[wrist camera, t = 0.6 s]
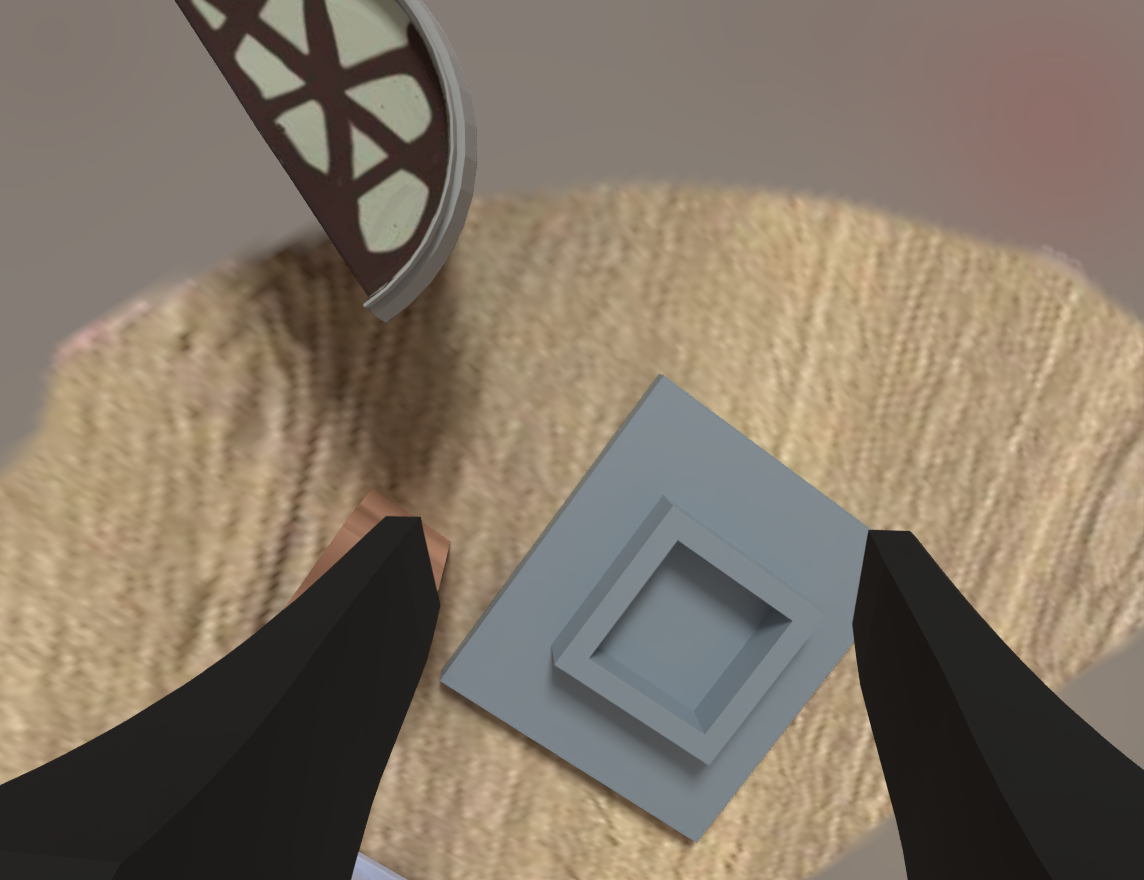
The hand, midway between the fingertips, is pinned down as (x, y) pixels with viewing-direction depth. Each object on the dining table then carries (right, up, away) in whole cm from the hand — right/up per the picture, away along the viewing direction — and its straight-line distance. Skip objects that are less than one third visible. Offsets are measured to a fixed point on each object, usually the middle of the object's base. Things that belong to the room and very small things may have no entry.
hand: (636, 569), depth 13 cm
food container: (-8, +14, +18) cm, 24 cm away
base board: (+4, -5, +22) cm, 23 cm away
